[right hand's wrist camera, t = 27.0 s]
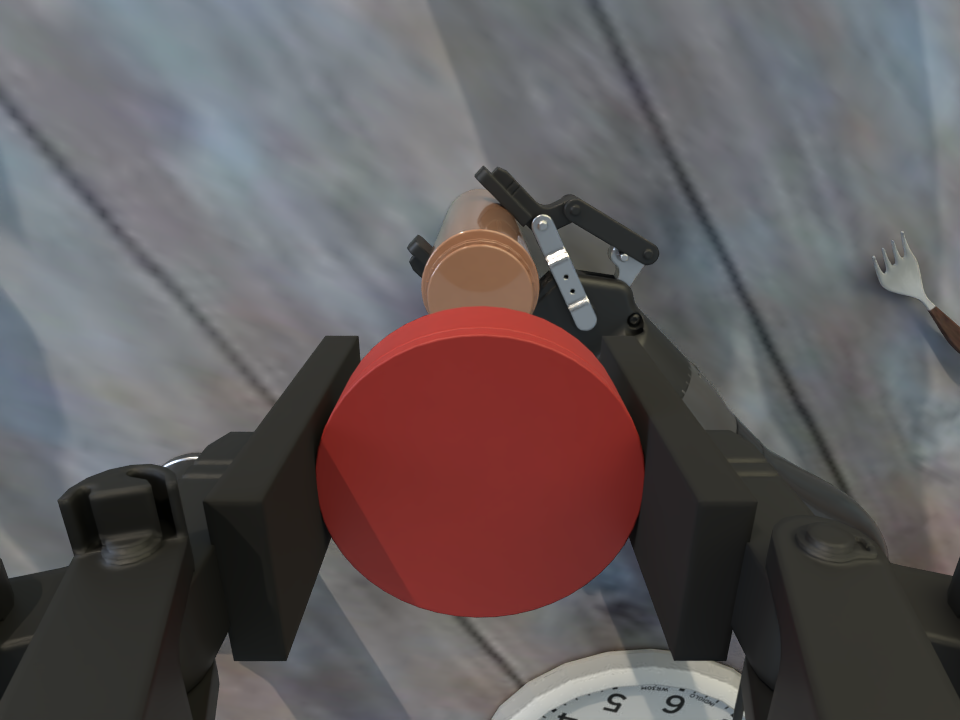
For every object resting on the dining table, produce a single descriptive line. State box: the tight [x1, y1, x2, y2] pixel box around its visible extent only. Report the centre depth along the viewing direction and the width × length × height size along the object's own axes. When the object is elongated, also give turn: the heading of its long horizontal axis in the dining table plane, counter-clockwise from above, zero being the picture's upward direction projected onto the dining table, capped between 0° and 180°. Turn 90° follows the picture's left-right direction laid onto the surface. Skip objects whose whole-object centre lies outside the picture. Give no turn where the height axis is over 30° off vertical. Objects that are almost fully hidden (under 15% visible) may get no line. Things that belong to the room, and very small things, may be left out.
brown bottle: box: [421, 189, 539, 315], centre depth 31 cm, size 5×5×18 cm
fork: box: [872, 231, 960, 353], centre depth 41 cm, size 3×16×2 cm, turn 48°
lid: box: [315, 306, 645, 618], centre depth 11 cm, size 6×6×2 cm
